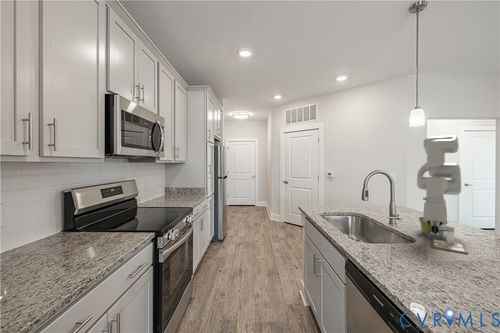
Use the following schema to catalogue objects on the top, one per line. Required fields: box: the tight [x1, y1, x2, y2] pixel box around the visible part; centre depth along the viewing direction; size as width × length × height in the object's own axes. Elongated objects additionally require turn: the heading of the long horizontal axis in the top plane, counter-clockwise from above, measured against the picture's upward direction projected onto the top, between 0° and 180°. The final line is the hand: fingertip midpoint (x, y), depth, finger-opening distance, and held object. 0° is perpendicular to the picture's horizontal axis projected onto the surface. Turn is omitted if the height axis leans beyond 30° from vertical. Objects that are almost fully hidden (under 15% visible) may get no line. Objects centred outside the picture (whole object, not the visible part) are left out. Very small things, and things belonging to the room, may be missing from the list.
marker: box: [445, 225, 455, 244], centre depth 116 cm, size 3×3×8 cm
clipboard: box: [431, 239, 469, 255], centre depth 114 cm, size 16×13×1 cm
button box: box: [426, 231, 444, 240], centre depth 126 cm, size 7×7×3 cm
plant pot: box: [418, 216, 437, 235], centre depth 136 cm, size 9×9×9 cm
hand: (434, 233), depth 126 cm, fingers closed
